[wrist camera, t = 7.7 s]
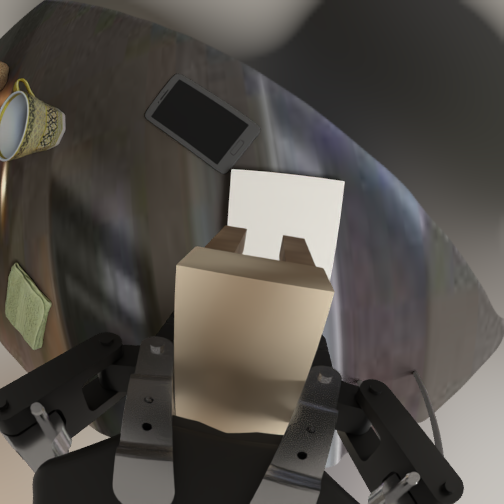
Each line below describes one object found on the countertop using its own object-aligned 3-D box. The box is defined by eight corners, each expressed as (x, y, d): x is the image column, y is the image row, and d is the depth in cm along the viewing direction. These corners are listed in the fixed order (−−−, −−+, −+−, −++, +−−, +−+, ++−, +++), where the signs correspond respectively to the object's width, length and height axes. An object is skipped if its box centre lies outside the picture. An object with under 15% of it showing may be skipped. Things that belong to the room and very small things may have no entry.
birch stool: (305, 231, 15) (334, 291, 7) (275, 362, 17) (272, 461, 10) (226, 218, 15) (176, 265, 7) (211, 350, 18) (177, 444, 10)
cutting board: (324, 297, 35) (325, 301, 34) (225, 287, 36) (223, 291, 35) (342, 181, 31) (344, 181, 30) (233, 169, 32) (231, 169, 30)
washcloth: (56, 300, 40) (45, 307, 37) (43, 349, 45) (35, 356, 42) (18, 255, 39) (7, 260, 36) (9, 310, 44) (1, 315, 41)
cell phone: (225, 176, 32) (224, 176, 32) (144, 117, 31) (141, 116, 30) (263, 129, 30) (263, 128, 30) (177, 72, 29) (176, 71, 28)
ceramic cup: (75, 148, 32) (28, 147, 23) (36, 166, 33) (-7, 170, 24) (74, 74, 29) (32, 60, 19) (36, 98, 30) (-4, 92, 20)
